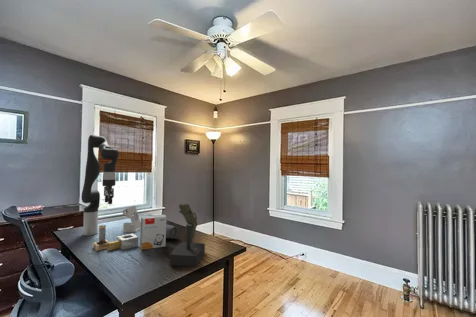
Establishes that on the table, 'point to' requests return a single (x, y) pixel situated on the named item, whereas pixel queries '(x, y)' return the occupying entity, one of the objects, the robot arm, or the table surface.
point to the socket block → (128, 241)
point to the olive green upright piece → (189, 219)
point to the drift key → (114, 245)
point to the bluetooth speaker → (171, 231)
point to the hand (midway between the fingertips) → (108, 203)
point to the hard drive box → (153, 231)
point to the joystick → (187, 252)
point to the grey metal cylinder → (102, 234)
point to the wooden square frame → (100, 247)
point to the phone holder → (134, 219)
